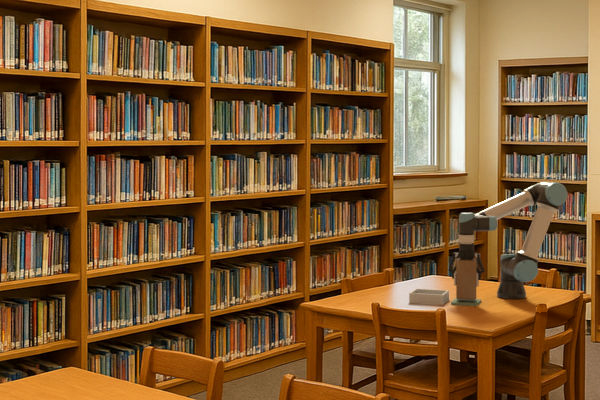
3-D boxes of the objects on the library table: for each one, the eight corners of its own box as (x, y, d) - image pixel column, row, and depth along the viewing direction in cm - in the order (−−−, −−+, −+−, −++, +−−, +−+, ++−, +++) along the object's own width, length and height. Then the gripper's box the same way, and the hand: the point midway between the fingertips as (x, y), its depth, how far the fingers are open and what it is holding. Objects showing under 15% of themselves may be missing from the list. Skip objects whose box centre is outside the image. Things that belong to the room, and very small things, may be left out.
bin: (449, 299, 436) (449, 290, 435) (443, 304, 422) (443, 295, 422) (416, 297, 442) (416, 288, 442) (409, 302, 429) (409, 293, 428)
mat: (481, 301, 429) (481, 299, 429) (476, 306, 417) (476, 303, 417) (456, 300, 434) (456, 298, 434) (451, 304, 422) (451, 302, 422)
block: (476, 300, 420) (476, 261, 419) (456, 299, 422) (456, 260, 421) (476, 296, 430) (476, 258, 428) (456, 296, 432) (456, 258, 430)
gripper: (490, 242, 423) (490, 285, 424) (445, 241, 432) (445, 283, 433) (488, 244, 416) (488, 288, 418) (442, 242, 425) (442, 285, 426)
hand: (466, 285), depth 425 cm, fingers closed on block, 11 cm apart
